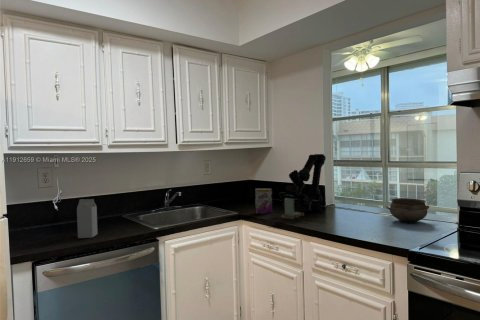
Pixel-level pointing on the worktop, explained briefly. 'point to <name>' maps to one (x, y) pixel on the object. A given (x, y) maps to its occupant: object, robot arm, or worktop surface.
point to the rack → (292, 216)
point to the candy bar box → (263, 201)
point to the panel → (289, 206)
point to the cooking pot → (408, 209)
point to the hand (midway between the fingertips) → (288, 208)
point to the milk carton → (87, 218)
